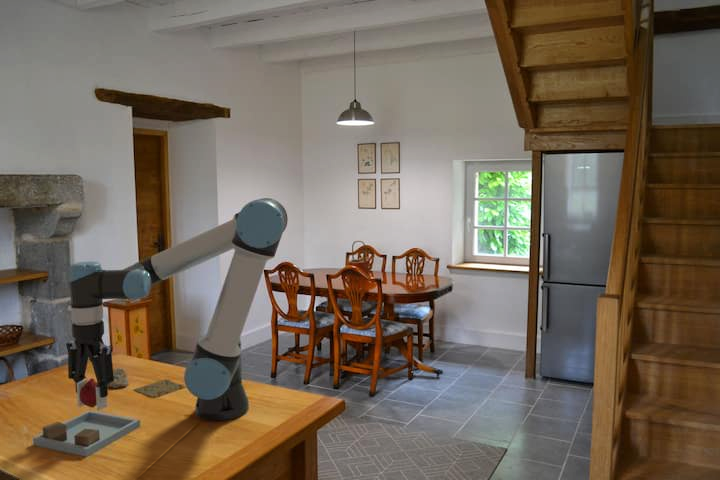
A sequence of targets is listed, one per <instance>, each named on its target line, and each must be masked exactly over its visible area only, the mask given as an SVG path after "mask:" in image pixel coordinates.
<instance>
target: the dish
mask: <svg viewBox="0 0 720 480" xmlns="http://www.w3.org/2000/svg"><path fill="white" fill-rule="evenodd" d="M61 423H62V424H64V425H66V432H67V440H66V441H63V442H62V441H58V440H53V439H48V438H44V437H43V432H42V433H40V434H39V433H38V434H37V435H35V436H33V437H32V441H33V442H32V444H33V446H37V447H42V448H46V449H51V450H55V451H58V452H63V453H69V454H73V455H76V456H80V457H85V458H89V457H90V456H91V455H93V454H95V453H97V452H99V451H100V450H102V449H104V448H106V447H107V446H109V445H111V444H112V443H114V442H115V441H116V442H117V441H118V440H119V439H122V438H123V437H124V436H126V435H129V434H130V433H132V432H133V431H135V430H137V429H139V428H140V427H141V420H140V419H137V418H132V417H128V416H121V415H115V414H111V413H106V412H101V411H97V410H96V411H95V410H87V411H85V412H83V413H81V414H78V415H77V416H75V417H73V418H70V419H69V420H66V421H64V422H61ZM84 429H94V430H99V437H100V440H99V441H97V442H95V443H93V444H91V445H89V446H88V447H85V446H80V445H76V444H75V439H74V436H75V435H76V434H78V433H79V432H81V431H82V430H84Z"/></svg>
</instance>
